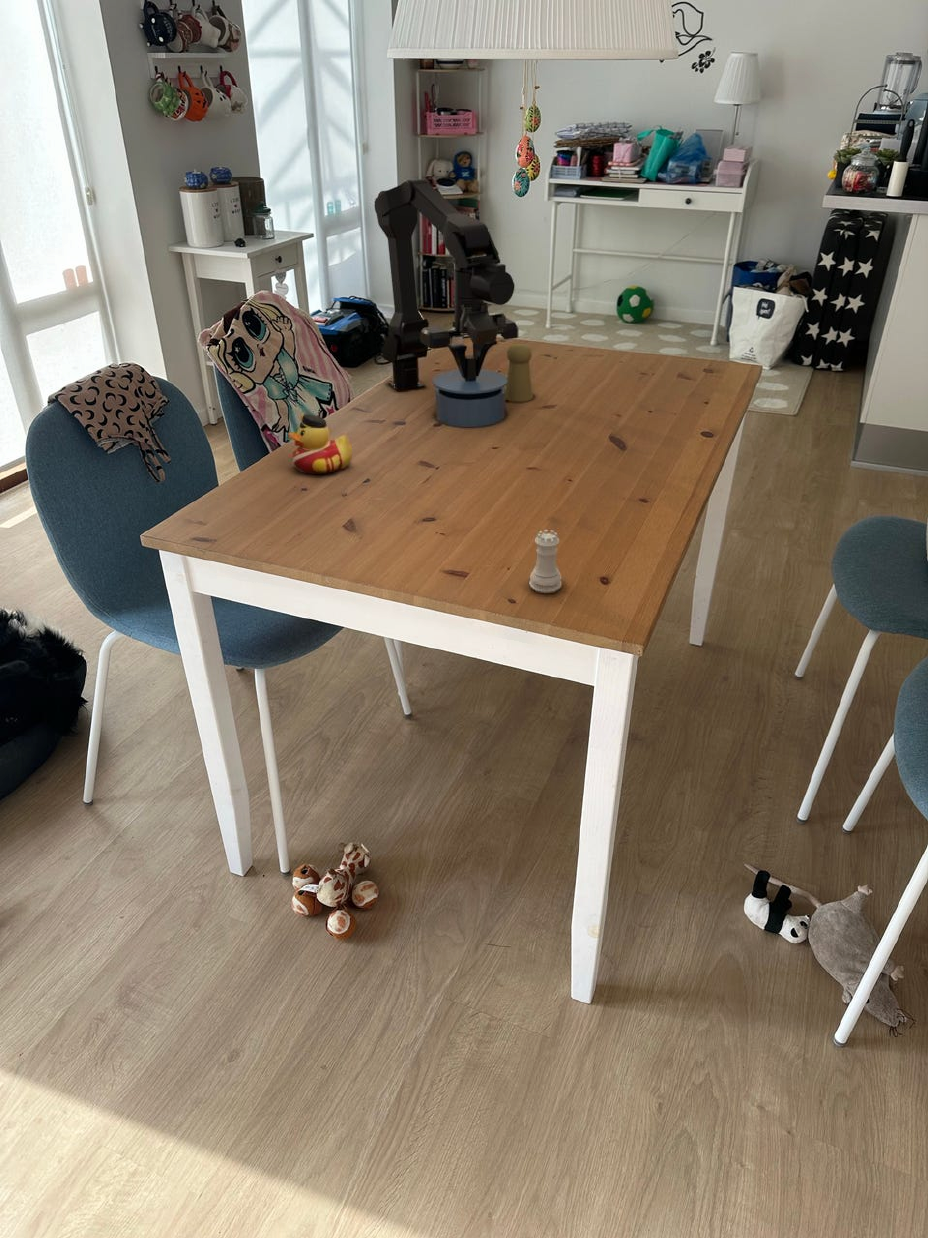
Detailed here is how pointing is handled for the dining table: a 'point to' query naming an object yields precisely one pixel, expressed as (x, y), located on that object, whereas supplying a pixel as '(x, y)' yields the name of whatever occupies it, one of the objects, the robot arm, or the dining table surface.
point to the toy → (318, 447)
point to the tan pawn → (519, 374)
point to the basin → (470, 408)
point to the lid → (470, 380)
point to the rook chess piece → (546, 564)
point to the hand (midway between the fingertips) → (470, 376)
